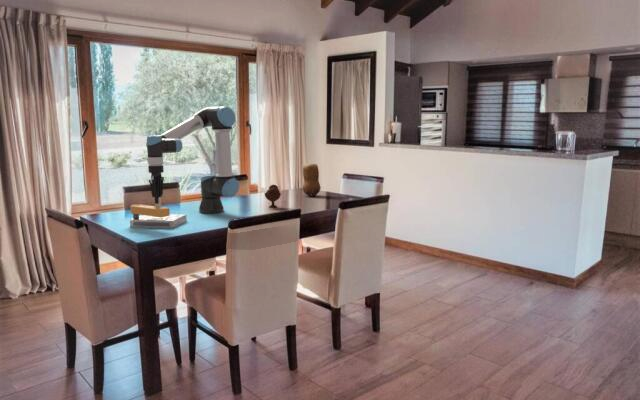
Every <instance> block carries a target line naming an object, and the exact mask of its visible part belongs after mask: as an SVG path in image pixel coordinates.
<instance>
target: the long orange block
mask: <svg viewBox="0 0 640 400" xmlns="http://www.w3.org/2000/svg"><path fill="white" fill-rule="evenodd" d="M170 209H171V208H170V207H165V206H164V207H163V206H161V207H157V206H155V205H147V204H131V205H130V213H131V215H133V214H139V216H141V215H146V216H154V217H165V216H170V214H171V212H170V211H171V210H170Z"/></svg>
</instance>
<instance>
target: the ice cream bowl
mask: <svg viewBox="0 0 640 400" xmlns="http://www.w3.org/2000/svg"><path fill="white" fill-rule="evenodd" d="M264 196H265V197H264V198H266V200H268V201H269V202H271V205H270V206H269V208H270V209H277V208H278V206H277V205H275V202H276V201H278V200H279V199H280V198H281V196H282V192H280V190H279V186H277V185H276V184H271V185H270V186H269V187H268V189H267V190H266V192H264ZM269 208H268V209H269Z"/></svg>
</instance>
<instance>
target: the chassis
mask: <svg viewBox="0 0 640 400" xmlns="http://www.w3.org/2000/svg"><path fill="white" fill-rule="evenodd" d="M187 222H188V221H187V214H178V213H170V216H165V217H154V216H146V215H139V214H132V218H130V219H129V225H130V228H150V229H152V228H155V229H174V228H177V227H179V226H181V225H183V224H184V223H187Z"/></svg>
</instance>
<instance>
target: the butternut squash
mask: <svg viewBox="0 0 640 400" xmlns="http://www.w3.org/2000/svg"><path fill="white" fill-rule="evenodd" d="M302 175H303V184H302V191H303V193H304V194H305V195H307V196H308V197H316V196H317V195H318V194H319V193H320V191H321V188H322V187H321V185H320V184H321V183H320V181H319V178H320V177H319V176H320V171H319V167H318V164H316V163H306V164H303V167H302Z"/></svg>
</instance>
